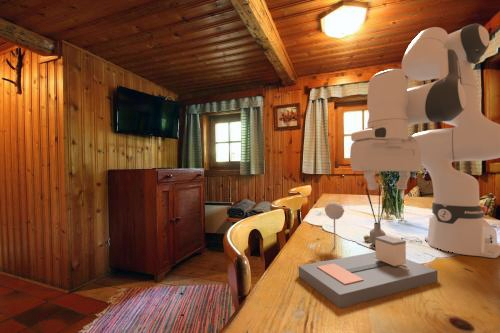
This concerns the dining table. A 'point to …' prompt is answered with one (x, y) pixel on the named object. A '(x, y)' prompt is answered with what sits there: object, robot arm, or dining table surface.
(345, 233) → the dining table surface
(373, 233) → the reed diffuser
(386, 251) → the fader knob
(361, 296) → the console board
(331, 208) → the lollipop
